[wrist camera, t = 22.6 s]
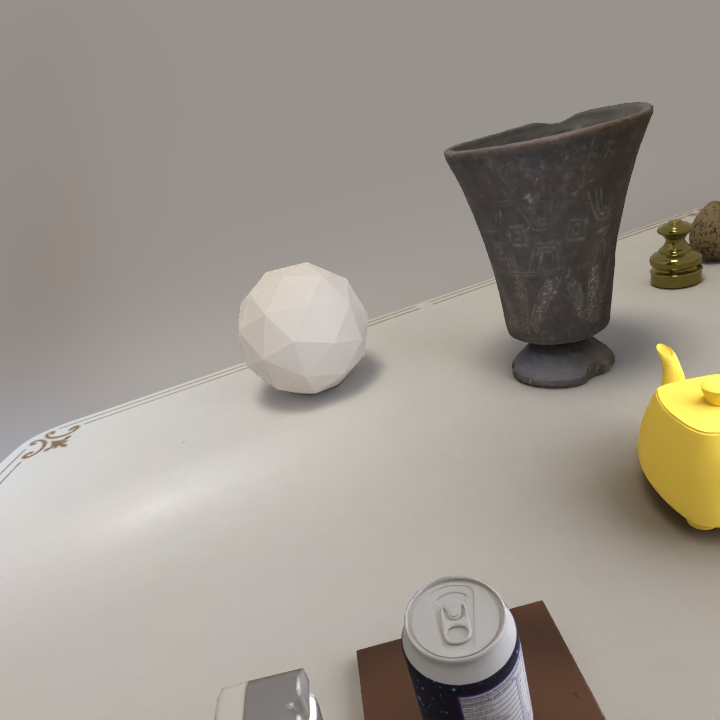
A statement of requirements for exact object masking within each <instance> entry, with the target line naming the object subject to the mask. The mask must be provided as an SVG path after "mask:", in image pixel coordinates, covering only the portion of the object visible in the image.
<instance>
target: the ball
mask: <svg viewBox="0 0 720 720" xmlns="http://www.w3.org/2000/svg"><path fill="white" fill-rule="evenodd" d="M367 320H368V314H367V312H366V310H365V309H364V307H363V305H362V304H361V302H360V300H359V299H358V297H357V296H356V294H355V292H354V291H353V289H352V287H351V286H350V284H349V283H348V281H347V279H346V278H343V277H341V276H339V275H336V274H334V273H332V272H329V271H327V270H324V269H322V268H320V267H317V266H315V265H312V264H310V263H308V262H306V263H302V264H298V265H294V266H289V267H286V268H281V269H278V270H273V271H269V272H266V273H265V274H264V276H263V277H262V278H261V279H260V281H259V282H258V283H257V284H256V286H255V287H254V288H253V289H252V291H251V292H250V293H249V294H248V295H247V297H246V298H245V299H244V301H243V302H242V303H241V305H240V317H239V329H238V333H239V345H240V348H241V350H242V353H243V356H244V359H245V362H246V364H247V367H248V368H250V369H251V370H252V371H253V372H255V373H256V374H257V375H258V376H259V377H261V378H262V379H263V380H265V381H266V382H267V383H269V384H270V385H272V386H273V387H275V388H276V389H278V390H283V391H288V392H293V393H299V394H316V393H318V392H321V391H324V390H326V389H329V388H331V387H334V386H337V385H339V384H340V382H341V381H342V380H343V379H344V378H345V377H346V376H347V374H348V373H349V372H350V371H351V370H352V369H353V368H354V366H355V365H356V364H357V363H358V362H359V361H360V360H361V358H362V357H363V356H364V355H365V345H366V333H367Z"/></svg>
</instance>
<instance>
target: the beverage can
mask: <svg viewBox="0 0 720 720" xmlns="http://www.w3.org/2000/svg"><path fill="white" fill-rule="evenodd" d="M401 641H402V650H403V654H404V657H405V660H406V664H407V667H408V671H409V674H410V677H411V681H412V684H413V688H414V691H415V694H416V698H417V701H418V705H419V708H420V711H421V715H422V718H423V720H534V717H533V712H532V706H531V700H530V695H529V689H528V683H527V677H526V672H525V666H524V660H523V655H522V649H521V643H520V638H519V632H518V627H517V623H516V621H515V618H514V617H513V615H512V613H511V612H510V610H509V609H508V608H507V607H506V606H505V604H504V602H503V600H502V599H501V597H500V596H499V594H498V593H497V592H496V591H495V590H494V589H493V588H492V587H491V586H489V585H488V584H486V583H484V582H482V581H480V580H478V579H475V578H471V577H465V576H450V577H444V578H441V579H438V580H435V581H433V582H430V583H428V584H427V585H425V586H424V587H422V588H421V589H420V590H419V591H418V592H417V593H416V594H415V595H414V596H413V597H412V599H411V600H410V602H409V604H408V606H407V608H406V612H405V616H404V627H403V631H402V639H401Z"/></svg>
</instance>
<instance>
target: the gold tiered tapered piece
mask: <svg viewBox="0 0 720 720" xmlns="http://www.w3.org/2000/svg"><path fill="white" fill-rule="evenodd" d="M693 228H694V226H693V224H691V223H688V222H686V221H682V220H680V219H674V220H670V221H669V222H668V223H666V224H663V225H662V226H660V227H659V228H658V229H657V233H658V234H660V235H662V236H663V237H664V238H665V240H666V242H665V244H664V245H663V246H662V247H661V248H660V249H659V251H657V252H655V253H654V254H653V255H652V256H651V257H650V265H651V266H652V267H653V268H652V269H651V270H650V273H651V284H652V285H654V286H656V287H660V288H668V289H674V288H684V287H689V286H692V285H695V284H697V283H699V282H700V281H701V280H702V269H703V267H702V265H701V264H699V263H700V262H701V261H702V258H703V254H702V252H701V251H700V250H698V249H696V248H693V247H692V245H690V244H688V243H687V242H686V241H685V237H686V235H687V234H688V233H689V232H690V231H692V230H693Z"/></svg>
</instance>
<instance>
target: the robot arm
mask: <svg viewBox="0 0 720 720" xmlns="http://www.w3.org/2000/svg"><path fill="white" fill-rule="evenodd" d="M214 720H323V719H322V715H321V711H320V707H319V704H318V702H317V699H316V697H315V696H313V695H311V694H309V679H308V677H307V675H306V673H305V670H304V668H301V669H297V670H293V671H288V672H284V673H280V674H276V675H272V676H268V677H264V678H259V679H255V680H251V681H248V682H244V683H240V684H236V685H232V686H228V687H224V688H222V689H221V691H220V694H219V696H218V698H217V705H216V712H215V719H214Z"/></svg>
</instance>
